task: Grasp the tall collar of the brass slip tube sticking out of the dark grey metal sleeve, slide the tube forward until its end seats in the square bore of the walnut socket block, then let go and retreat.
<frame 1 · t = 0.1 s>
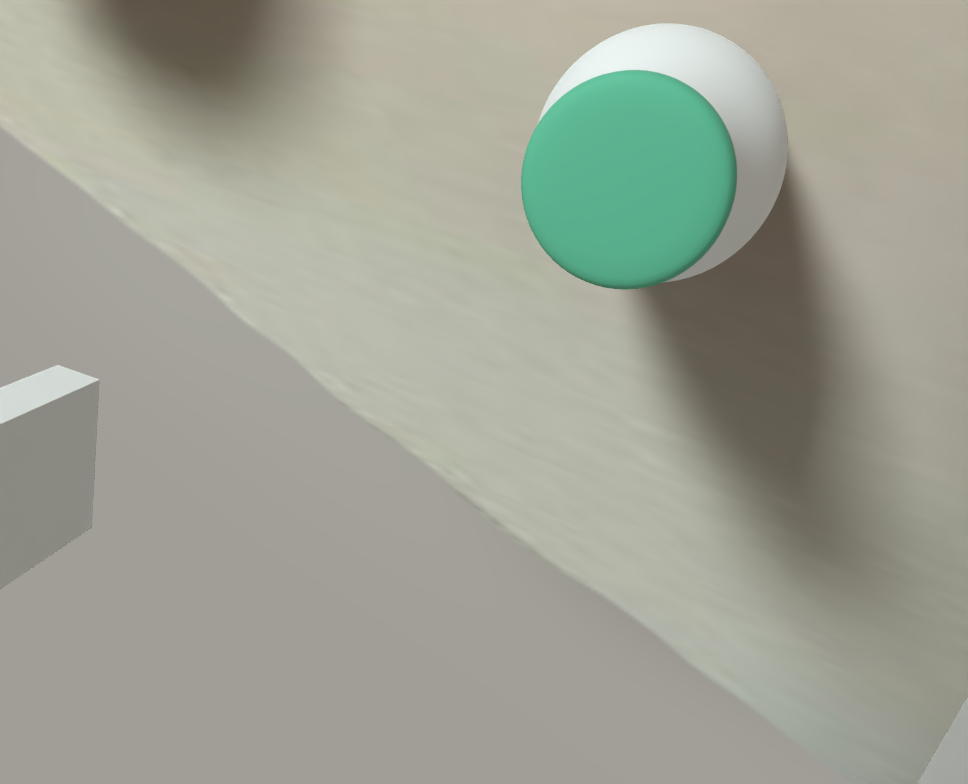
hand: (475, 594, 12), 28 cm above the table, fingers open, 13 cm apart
milk bottle: (678, 140, 36), on the table
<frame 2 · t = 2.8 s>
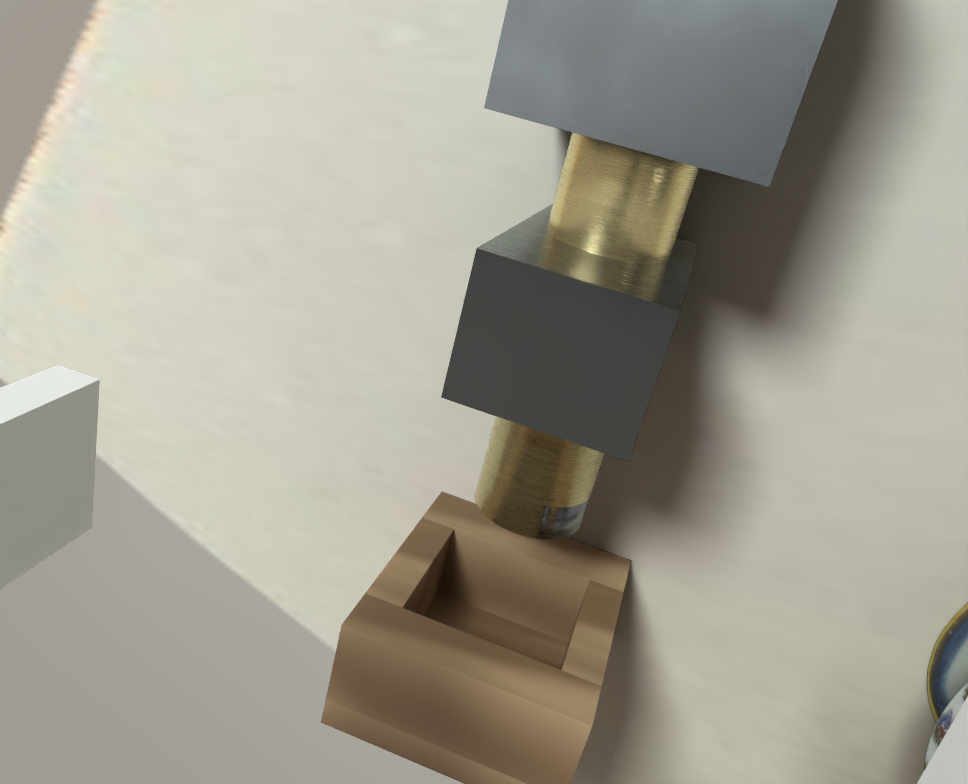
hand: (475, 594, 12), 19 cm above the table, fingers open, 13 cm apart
slip tube: (615, 211, 24), point 5 cm above the table, slide at 0.0 cm
socket block: (534, 525, 34), on the table
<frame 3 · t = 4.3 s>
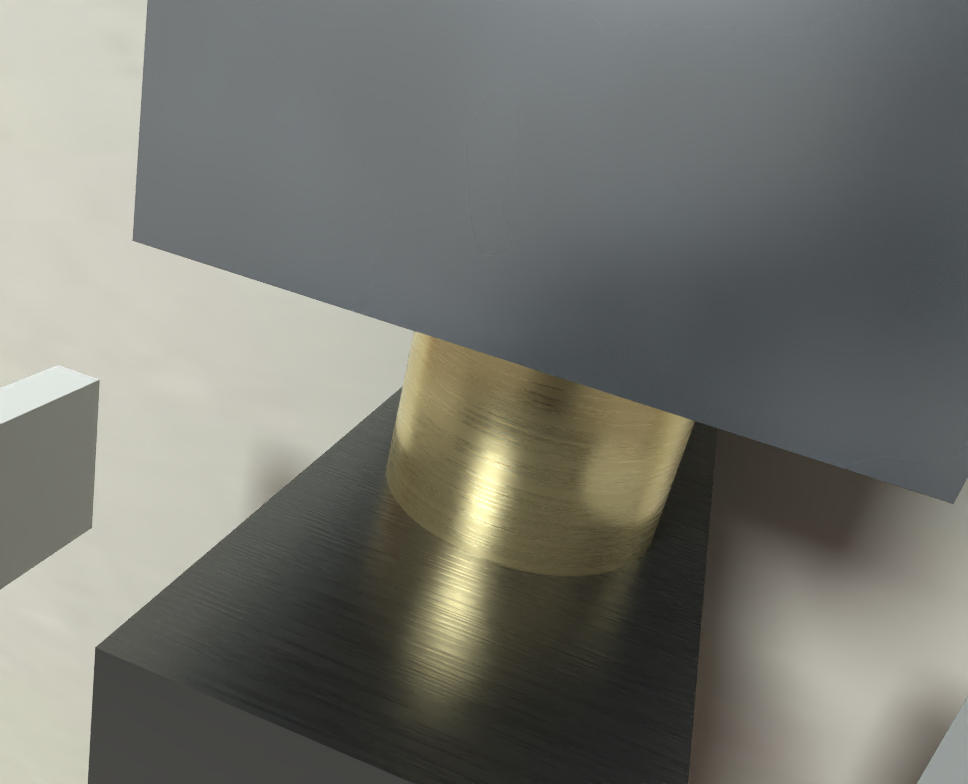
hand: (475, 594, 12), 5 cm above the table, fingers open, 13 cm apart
slip tube: (535, 431, 10), point 5 cm above the table, slide at 0.0 cm
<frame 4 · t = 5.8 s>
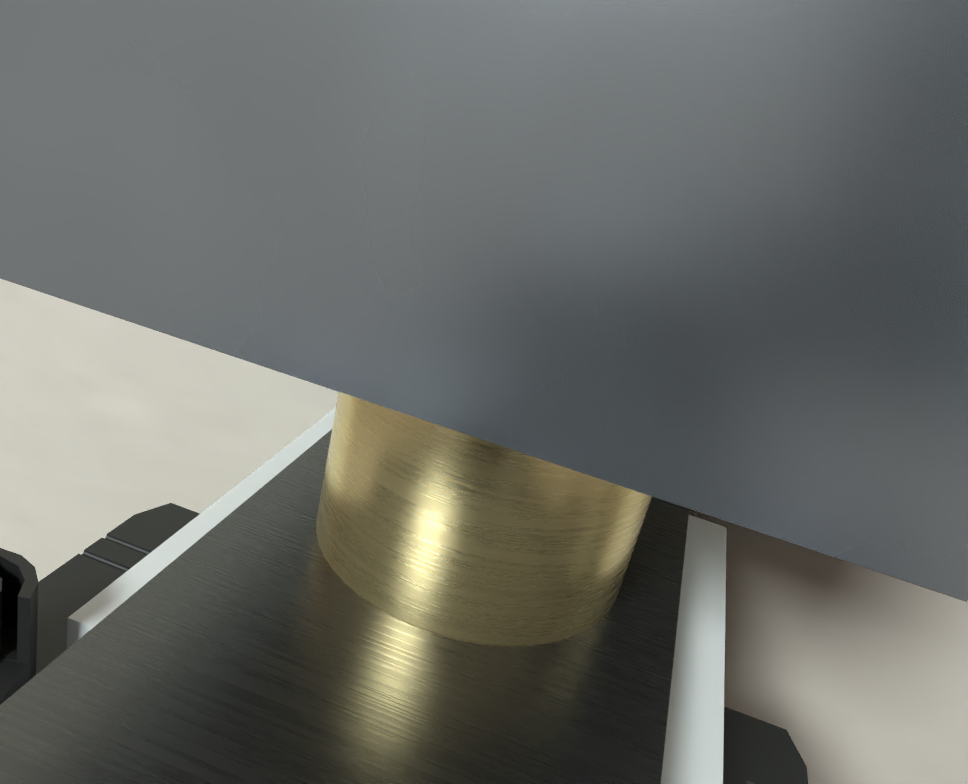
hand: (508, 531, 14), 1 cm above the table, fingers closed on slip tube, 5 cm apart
slip tube: (483, 475, 9), point 5 cm above the table, slide at 0.0 cm, touching gripper
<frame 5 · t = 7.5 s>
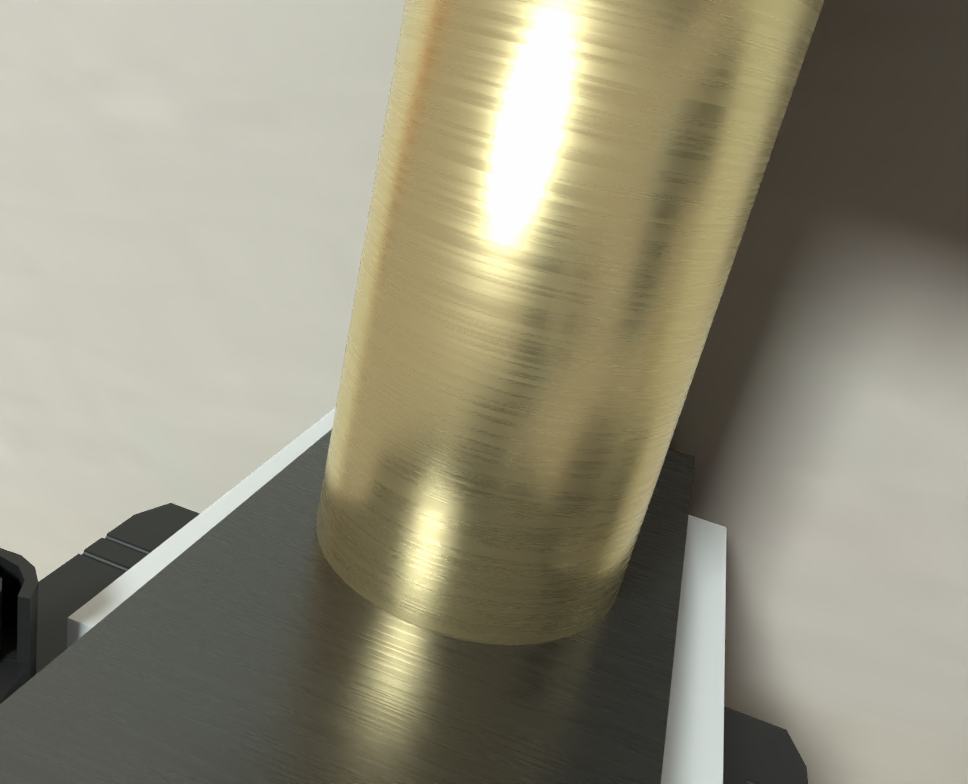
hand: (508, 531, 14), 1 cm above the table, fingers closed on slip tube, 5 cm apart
slip tube: (483, 475, 9), point 5 cm above the table, slide at 5.9 cm, touching gripper
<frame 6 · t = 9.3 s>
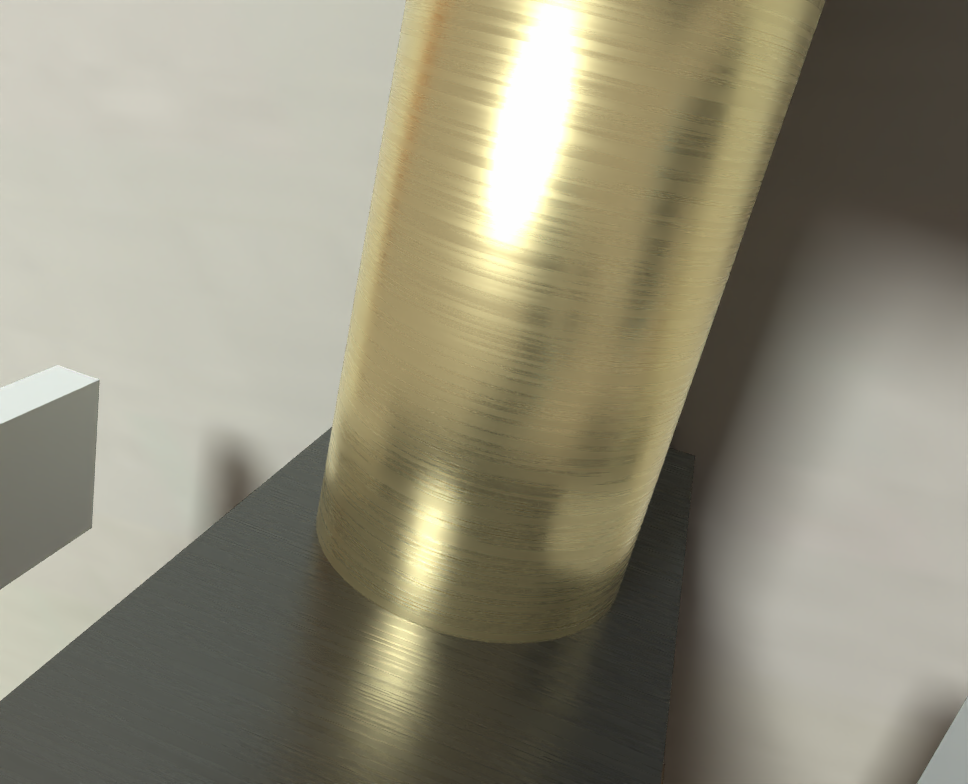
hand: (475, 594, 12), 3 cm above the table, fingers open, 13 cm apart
slip tube: (483, 473, 9), point 5 cm above the table, slide at 6.0 cm
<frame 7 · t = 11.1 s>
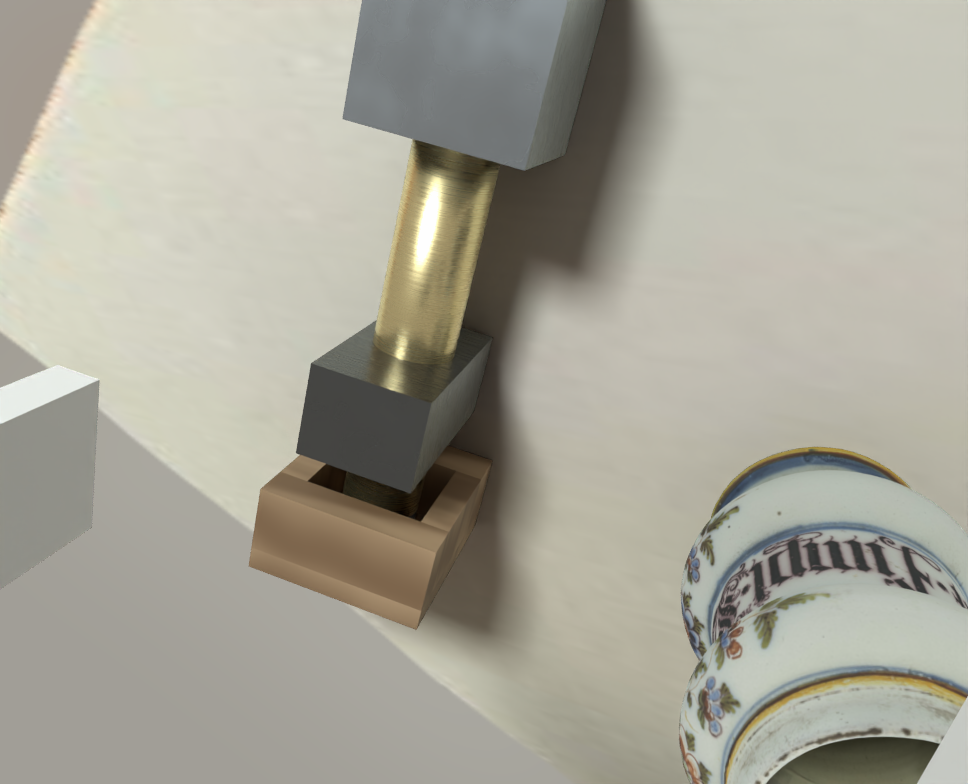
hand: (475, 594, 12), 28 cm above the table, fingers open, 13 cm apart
slip tube: (416, 327, 36), point 5 cm above the table, slide at 6.0 cm
sleeve: (515, 28, 36), on the table
apothecary jar: (815, 538, 40), on the table
socket block: (420, 436, 44), on the table
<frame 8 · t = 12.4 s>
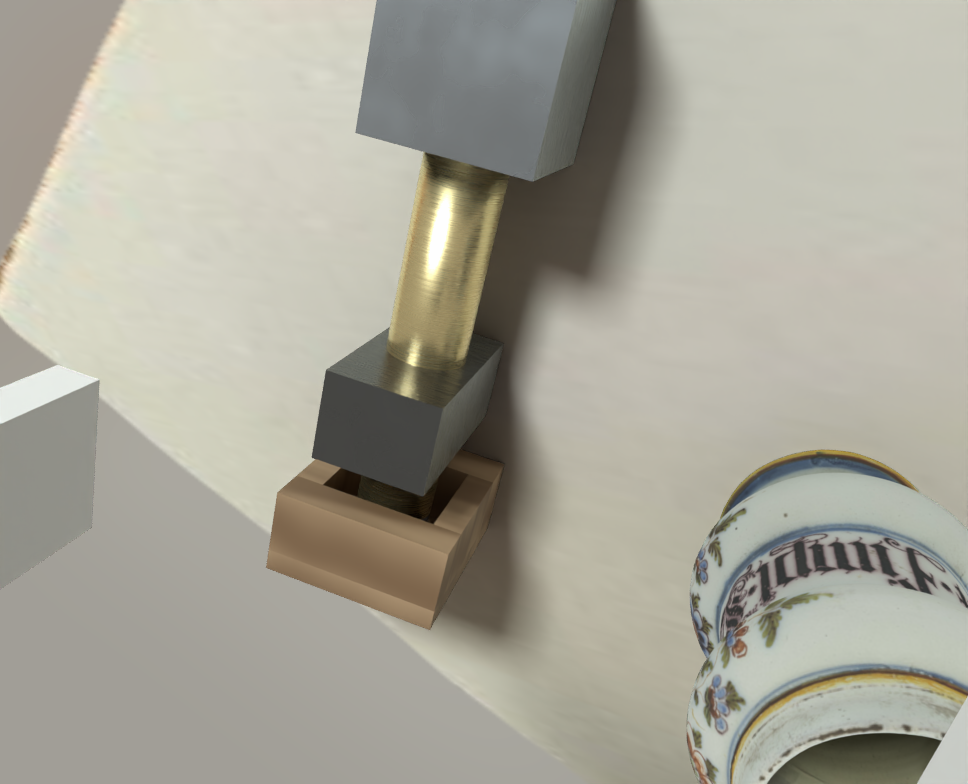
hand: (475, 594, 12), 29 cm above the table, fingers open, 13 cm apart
slip tube: (428, 334, 37), point 5 cm above the table, slide at 6.0 cm
sleeve: (523, 40, 37), on the table
apothecary jar: (823, 540, 41), on the table
socket block: (433, 440, 44), on the table
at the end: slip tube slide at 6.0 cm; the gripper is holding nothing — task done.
